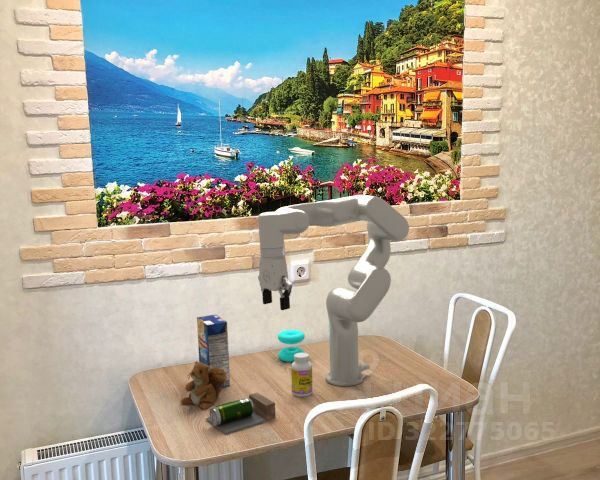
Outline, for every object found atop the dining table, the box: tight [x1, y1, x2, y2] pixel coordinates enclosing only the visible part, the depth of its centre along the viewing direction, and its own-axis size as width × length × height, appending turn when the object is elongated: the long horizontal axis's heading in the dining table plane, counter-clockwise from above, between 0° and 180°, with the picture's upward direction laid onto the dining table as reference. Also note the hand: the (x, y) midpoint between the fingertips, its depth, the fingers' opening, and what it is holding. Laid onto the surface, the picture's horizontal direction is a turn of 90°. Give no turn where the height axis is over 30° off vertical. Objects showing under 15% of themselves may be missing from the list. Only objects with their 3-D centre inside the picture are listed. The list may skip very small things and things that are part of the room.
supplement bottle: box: [290, 352, 313, 398], centre depth 204 cm, size 7×7×13 cm
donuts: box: [277, 329, 306, 363], centre depth 238 cm, size 10×10×10 cm
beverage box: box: [196, 314, 231, 389], centre depth 215 cm, size 7×11×22 cm, turn 27°
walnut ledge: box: [248, 392, 276, 421], centre depth 191 cm, size 3×10×4 cm, turn 35°
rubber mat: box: [205, 412, 267, 435], centre depth 186 cm, size 13×12×1 cm
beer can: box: [209, 397, 255, 427], centre depth 185 cm, size 5×5×12 cm
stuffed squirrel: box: [180, 360, 228, 410], centre depth 200 cm, size 10×14×13 cm
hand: (276, 306), depth 199 cm, fingers open, 9 cm apart
